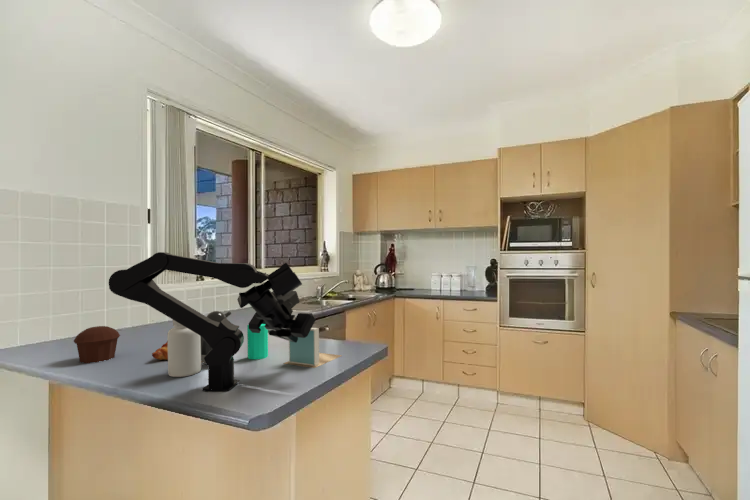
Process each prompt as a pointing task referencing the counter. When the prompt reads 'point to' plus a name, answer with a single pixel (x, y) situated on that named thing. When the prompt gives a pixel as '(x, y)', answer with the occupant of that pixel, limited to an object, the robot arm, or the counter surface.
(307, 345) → the tile
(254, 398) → the counter surface
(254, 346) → the candle
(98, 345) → the muffin
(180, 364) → the pill bottle
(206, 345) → the pump dispenser
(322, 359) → the mat
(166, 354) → the croissant
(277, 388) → the counter surface
